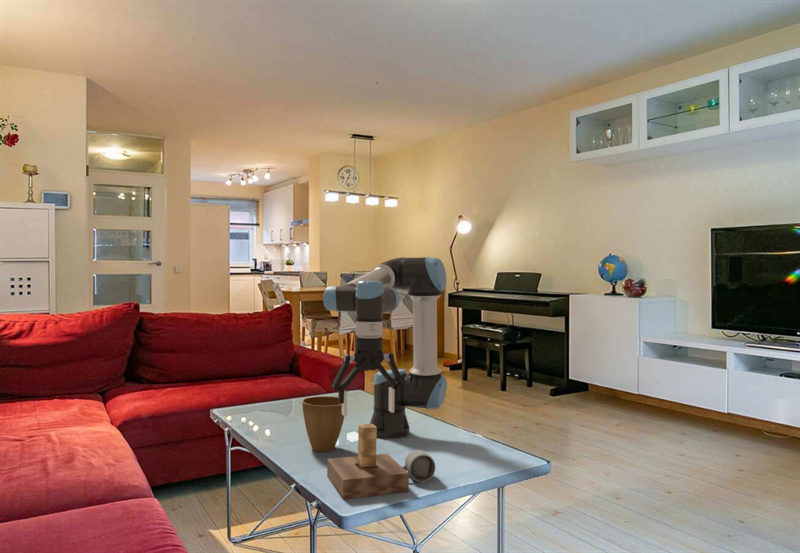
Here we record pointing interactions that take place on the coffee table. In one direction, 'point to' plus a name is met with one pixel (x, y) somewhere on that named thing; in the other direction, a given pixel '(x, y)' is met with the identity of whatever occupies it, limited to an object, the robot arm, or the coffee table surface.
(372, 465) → the oak peg
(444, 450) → the coffee table surface
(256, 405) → the coffee table surface
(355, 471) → the walnut socket block
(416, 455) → the ceramic mug
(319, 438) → the plant pot
